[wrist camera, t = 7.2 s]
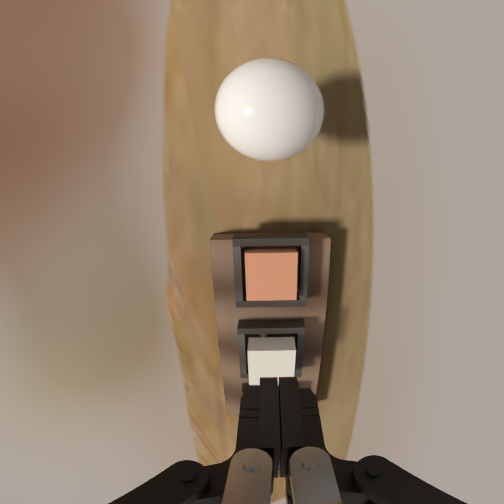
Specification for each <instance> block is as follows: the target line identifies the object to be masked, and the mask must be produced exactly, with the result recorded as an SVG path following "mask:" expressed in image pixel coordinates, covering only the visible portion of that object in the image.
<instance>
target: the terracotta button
mask: <svg viewBox="0 0 504 504" xmlns="http://www.w3.org/2000/svg"><path fill="white" fill-rule="evenodd" d="M297 268H298V251H297V249H296V246H246V249H245V275H246V300H247V301H273V300H297Z"/></svg>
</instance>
